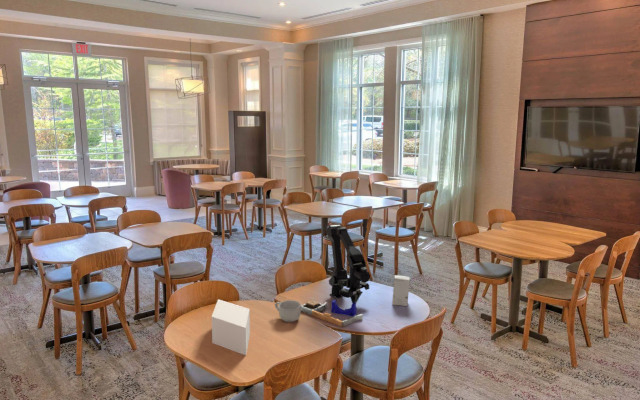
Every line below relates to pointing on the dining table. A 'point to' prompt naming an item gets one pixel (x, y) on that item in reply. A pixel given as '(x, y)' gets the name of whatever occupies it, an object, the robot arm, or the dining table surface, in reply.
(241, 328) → the block
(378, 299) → the dining table surface
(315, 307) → the rack
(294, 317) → the teacup
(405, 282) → the skincare box
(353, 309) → the cable clip
